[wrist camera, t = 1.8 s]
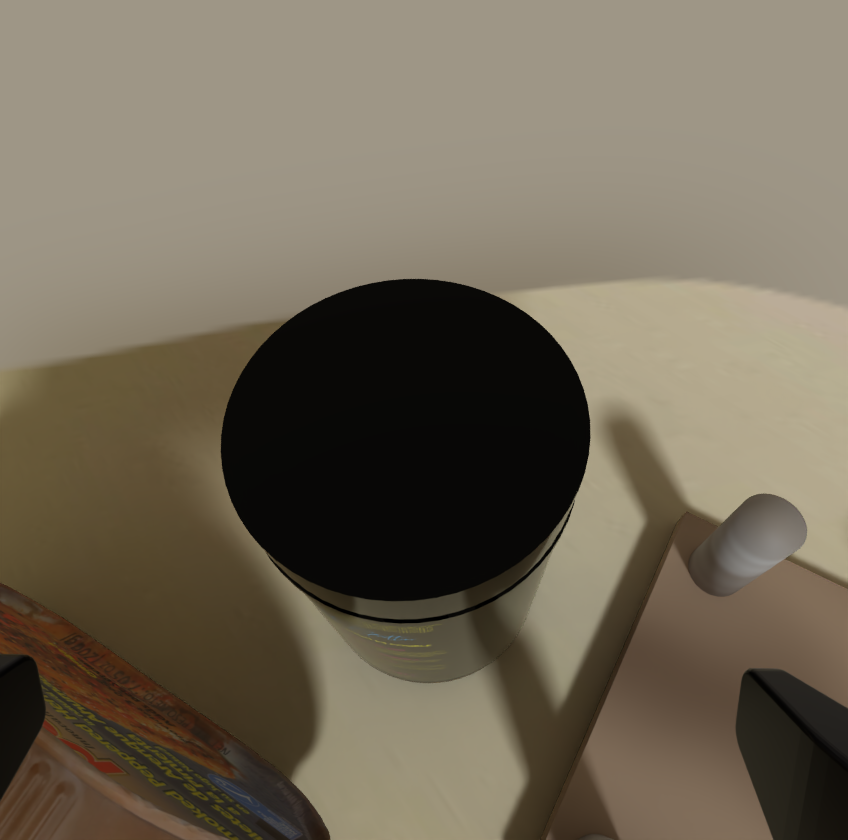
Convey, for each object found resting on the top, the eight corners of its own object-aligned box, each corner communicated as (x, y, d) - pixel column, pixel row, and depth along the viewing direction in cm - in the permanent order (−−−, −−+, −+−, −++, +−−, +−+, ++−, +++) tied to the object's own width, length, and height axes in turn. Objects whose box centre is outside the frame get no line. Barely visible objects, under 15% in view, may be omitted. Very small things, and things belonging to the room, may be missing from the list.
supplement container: (542, 690, 18) (618, 603, 9) (317, 687, 19) (182, 602, 10) (526, 483, 22) (571, 273, 13) (337, 484, 22) (251, 281, 13)
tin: (361, 826, 17) (285, 861, 10) (295, 955, 16) (148, 1110, 8) (-5, 568, 21) (-248, 459, 14) (-81, 653, 20) (-393, 580, 13)
